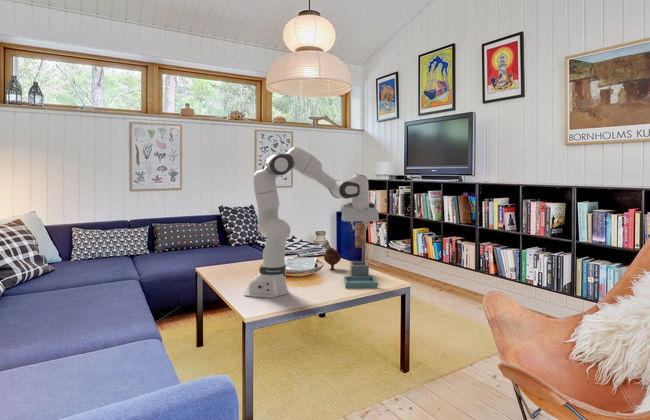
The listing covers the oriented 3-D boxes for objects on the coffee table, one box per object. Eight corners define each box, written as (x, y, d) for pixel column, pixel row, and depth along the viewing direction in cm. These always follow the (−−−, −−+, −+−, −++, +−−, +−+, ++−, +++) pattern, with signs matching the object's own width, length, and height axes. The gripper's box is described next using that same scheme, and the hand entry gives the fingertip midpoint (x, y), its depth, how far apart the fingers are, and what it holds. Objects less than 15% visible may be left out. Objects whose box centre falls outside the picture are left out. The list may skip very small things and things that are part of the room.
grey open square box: (351, 280, 227) (351, 265, 226) (349, 275, 237) (349, 261, 236) (368, 279, 227) (368, 265, 227) (366, 275, 237) (366, 261, 237)
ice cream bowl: (334, 274, 241) (334, 250, 240) (320, 271, 248) (320, 248, 247) (344, 270, 250) (344, 247, 248) (330, 268, 256) (330, 245, 255)
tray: (345, 288, 211) (345, 282, 210) (343, 281, 225) (343, 276, 224) (377, 288, 211) (377, 282, 211) (373, 281, 225) (373, 275, 225)
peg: (355, 247, 214) (355, 223, 213) (354, 246, 219) (354, 222, 218) (364, 247, 214) (365, 223, 213) (363, 246, 219) (363, 222, 218)
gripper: (341, 204, 211) (341, 230, 212) (379, 204, 212) (379, 230, 213) (340, 204, 217) (340, 228, 219) (377, 204, 218) (377, 228, 219)
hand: (359, 229), depth 216 cm, fingers closed on peg, 5 cm apart
